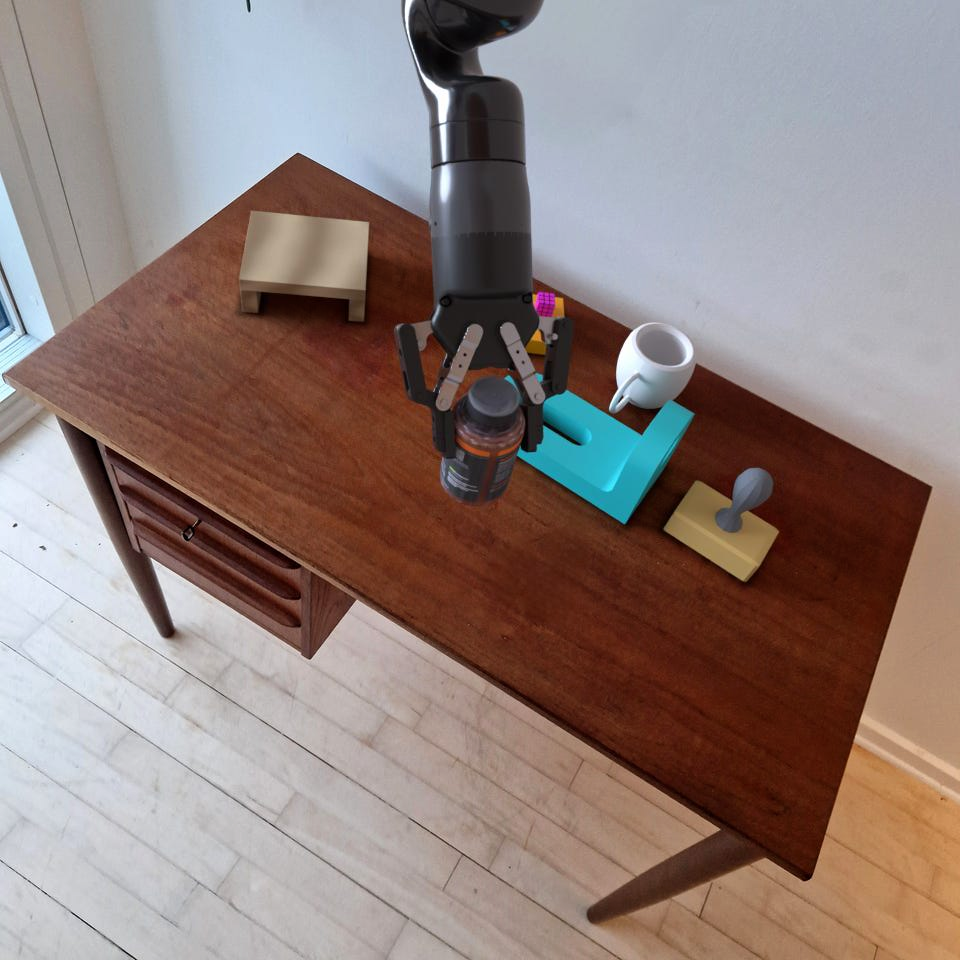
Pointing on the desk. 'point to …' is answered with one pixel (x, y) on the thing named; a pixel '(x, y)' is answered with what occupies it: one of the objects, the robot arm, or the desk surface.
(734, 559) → the rubber stamp
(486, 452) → the supplement bottle
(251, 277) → the stand
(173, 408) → the desk surface
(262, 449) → the desk surface
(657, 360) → the mug
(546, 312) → the orange block
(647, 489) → the bracket
